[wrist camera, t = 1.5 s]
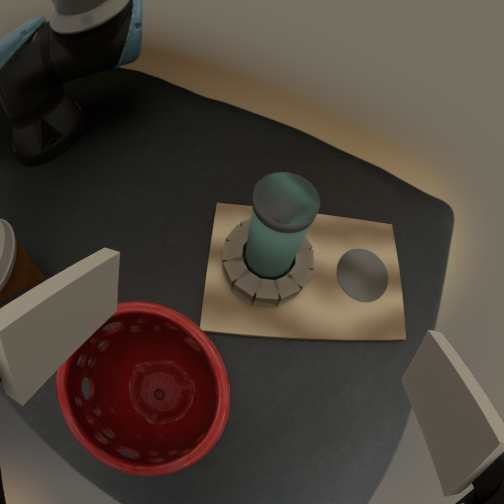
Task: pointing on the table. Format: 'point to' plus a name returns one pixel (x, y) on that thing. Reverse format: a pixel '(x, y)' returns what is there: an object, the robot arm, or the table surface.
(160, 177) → the table surface
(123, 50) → the robot arm
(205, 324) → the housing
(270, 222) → the teal cylindrical container
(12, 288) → the disposable coffee cup
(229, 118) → the table surface
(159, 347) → the plant pot
